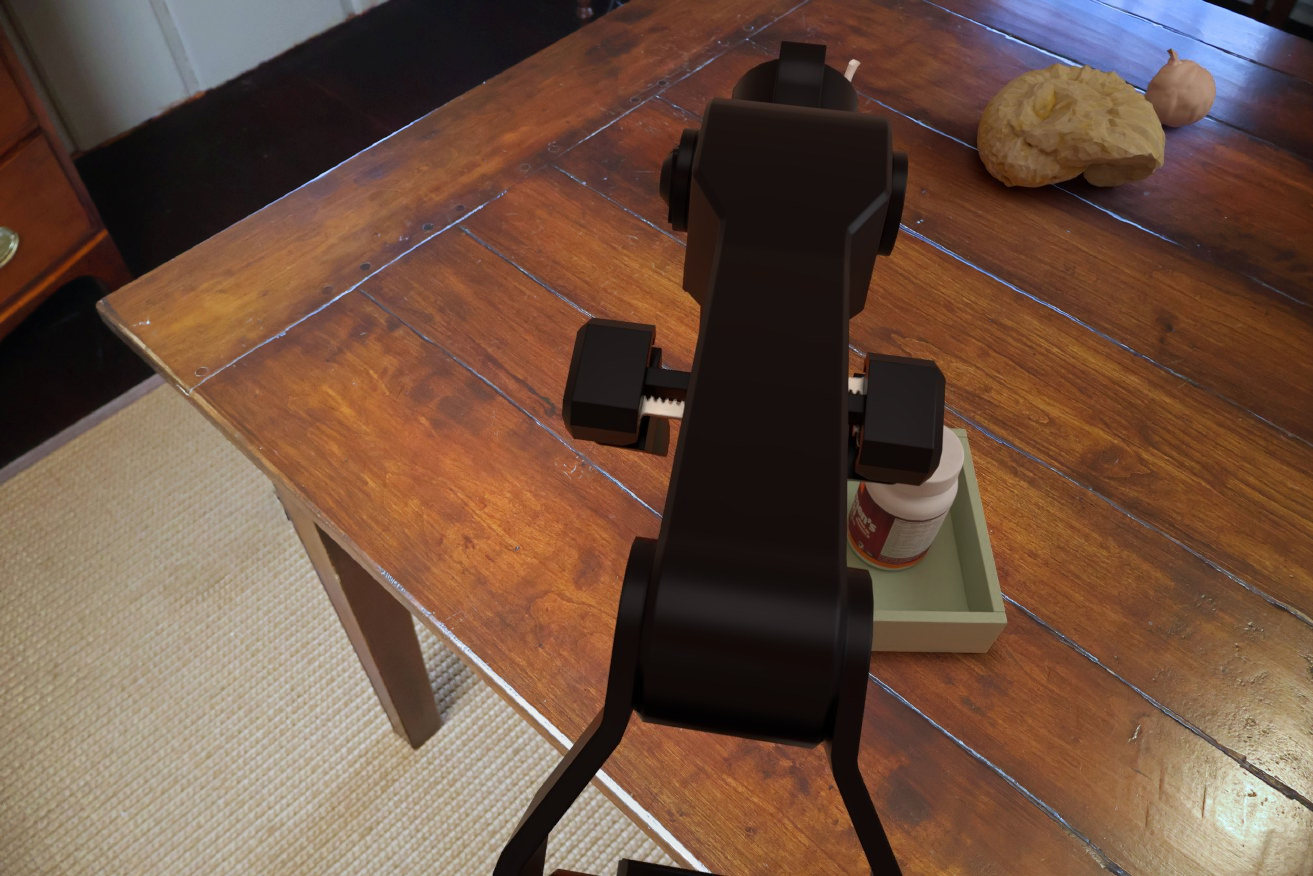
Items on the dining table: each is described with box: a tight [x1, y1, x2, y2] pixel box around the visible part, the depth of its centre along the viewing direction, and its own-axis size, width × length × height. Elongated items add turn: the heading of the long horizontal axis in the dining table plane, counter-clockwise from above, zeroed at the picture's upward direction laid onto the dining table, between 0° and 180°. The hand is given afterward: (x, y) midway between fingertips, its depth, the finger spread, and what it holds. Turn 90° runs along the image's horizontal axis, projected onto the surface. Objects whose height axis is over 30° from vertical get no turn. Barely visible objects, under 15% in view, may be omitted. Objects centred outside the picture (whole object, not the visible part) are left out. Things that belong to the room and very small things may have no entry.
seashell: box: [976, 62, 1166, 188], centre depth 92 cm, size 17×11×15 cm
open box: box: [847, 427, 1008, 654], centre depth 68 cm, size 16×14×5 cm
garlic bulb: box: [1143, 47, 1217, 128], centre depth 98 cm, size 7×6×8 cm
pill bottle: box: [847, 424, 964, 571], centre depth 66 cm, size 6×6×11 cm
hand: (742, 459), depth 57 cm, fingers open, 9 cm apart
